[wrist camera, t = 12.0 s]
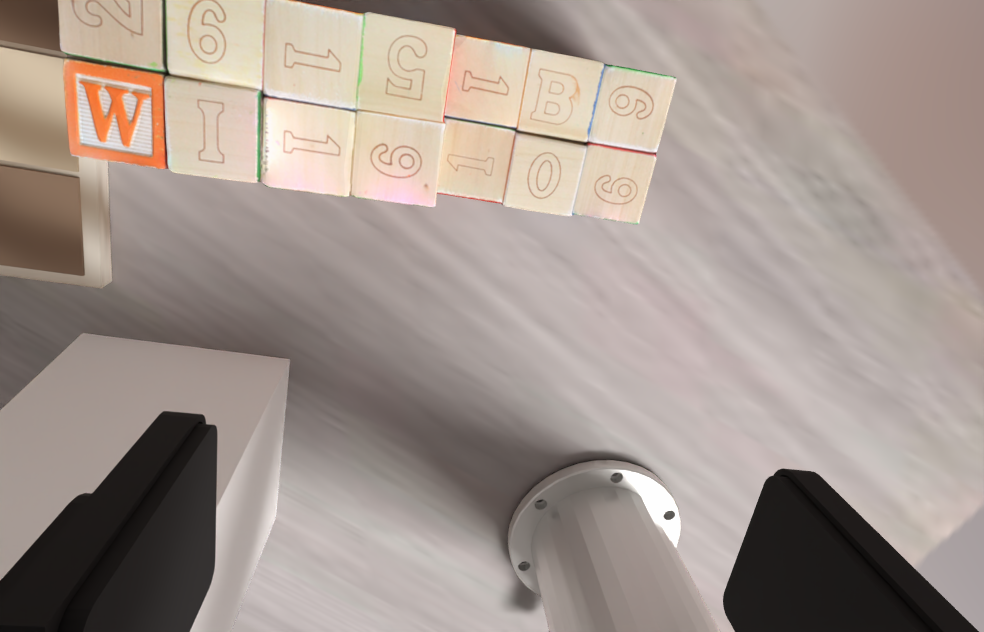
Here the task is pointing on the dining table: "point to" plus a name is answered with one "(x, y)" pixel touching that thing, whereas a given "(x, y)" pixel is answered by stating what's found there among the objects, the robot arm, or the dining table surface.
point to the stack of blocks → (356, 106)
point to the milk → (120, 423)
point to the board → (45, 161)
